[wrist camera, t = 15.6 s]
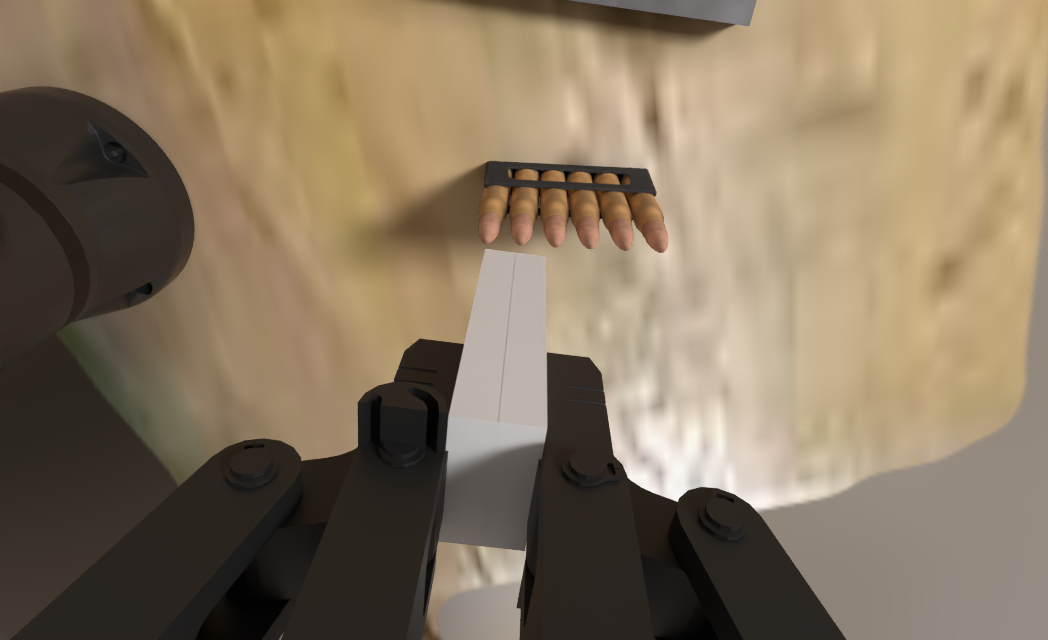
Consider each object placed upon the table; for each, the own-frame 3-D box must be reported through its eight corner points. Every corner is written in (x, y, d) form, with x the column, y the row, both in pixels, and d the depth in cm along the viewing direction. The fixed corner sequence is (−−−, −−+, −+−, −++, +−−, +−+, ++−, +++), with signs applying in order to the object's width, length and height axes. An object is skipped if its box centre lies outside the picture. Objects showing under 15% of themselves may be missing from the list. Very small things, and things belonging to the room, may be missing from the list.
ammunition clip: (486, 188, 41) (466, 257, 30) (487, 160, 40) (466, 222, 30) (644, 196, 41) (678, 268, 30) (648, 168, 40) (685, 233, 30)
